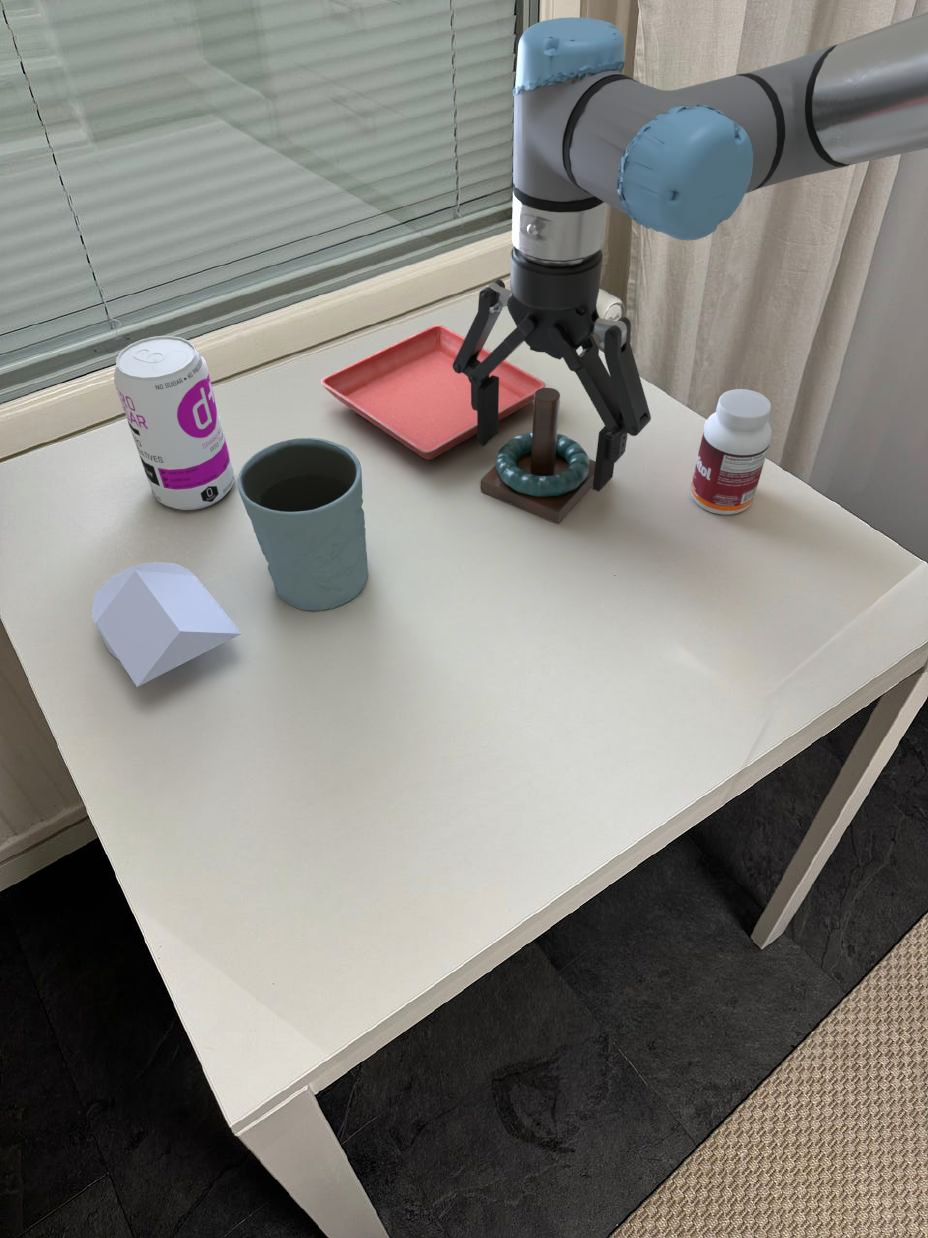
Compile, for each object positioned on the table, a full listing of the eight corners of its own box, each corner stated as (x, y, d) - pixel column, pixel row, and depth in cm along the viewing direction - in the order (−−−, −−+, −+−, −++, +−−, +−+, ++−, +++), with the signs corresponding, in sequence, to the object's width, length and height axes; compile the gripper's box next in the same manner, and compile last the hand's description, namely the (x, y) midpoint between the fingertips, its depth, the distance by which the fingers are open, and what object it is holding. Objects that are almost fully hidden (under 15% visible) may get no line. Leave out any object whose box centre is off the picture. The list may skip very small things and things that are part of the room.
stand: (601, 475, 91) (613, 386, 84) (557, 524, 86) (565, 434, 79) (526, 446, 95) (531, 358, 87) (480, 491, 90) (480, 402, 82)
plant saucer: (547, 408, 100) (549, 382, 97) (427, 478, 91) (426, 452, 89) (439, 347, 109) (438, 322, 106) (320, 406, 100) (316, 380, 98)
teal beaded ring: (604, 462, 90) (606, 446, 89) (558, 513, 85) (559, 497, 84) (527, 433, 94) (528, 417, 92) (478, 480, 89) (477, 463, 87)
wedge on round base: (249, 660, 75) (182, 574, 82) (233, 605, 70) (163, 519, 77) (148, 713, 71) (87, 618, 78) (124, 658, 66) (61, 563, 73)
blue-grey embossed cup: (381, 607, 79) (369, 502, 70) (266, 626, 78) (239, 522, 69) (365, 533, 86) (352, 428, 77) (259, 549, 84) (233, 445, 75)
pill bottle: (686, 476, 91) (707, 381, 83) (748, 478, 91) (774, 384, 83) (691, 515, 87) (714, 420, 79) (756, 518, 86) (785, 423, 78)
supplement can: (251, 474, 92) (220, 343, 81) (203, 523, 87) (163, 389, 76) (187, 455, 94) (148, 325, 83) (137, 501, 89) (89, 369, 78)
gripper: (408, 228, 75) (420, 438, 91) (676, 306, 66) (638, 526, 81) (458, 197, 79) (462, 403, 95) (717, 266, 70) (673, 482, 86)
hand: (543, 460), depth 88 cm, fingers open, 12 cm apart
